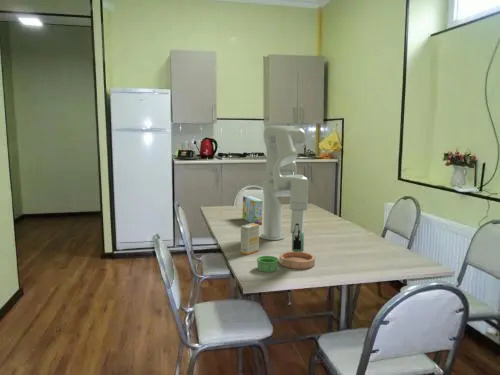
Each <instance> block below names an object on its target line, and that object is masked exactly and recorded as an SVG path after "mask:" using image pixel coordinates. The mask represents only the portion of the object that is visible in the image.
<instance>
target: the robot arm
mask: <svg viewBox="0 0 500 375" xmlns="http://www.w3.org/2000/svg"><path fill="white" fill-rule="evenodd" d="M263 140H264V144H265V149H266V157H265V158H266V160H265V162H266V163H265V169H266V172H265V173H266V174H267V175H268V176H269V177H272V178H268V179H265V180H264V181H263V183H262V193H263V233H261V234H260V238H261V239H263V240H267V241H279V240H283V239H284V238H285V234H283V233H282V226H283V224H282V222H283V221H282V220H283V219H282V218H283V205H282V202H281V201H280V199H279V198H281V197H283V198H284V197H289V209H290V210H291V217H290V218H291V219H290V220H291V221H290V233H291V234H292V233H293V232H294V240H293V249H296V250H301V240H300V239H301V233H302V232H304V229H305V219H306V218H305V217H306V216H305V215H306V211H308V210H309V209H308V208H309V207H308V206H309V205H308V204H309V178H307V177H306V176H304V175H302V174H297V173H298V172H297V169H298V167H297V162H296V160H297V159H298V155H299V154H298V151H297V147H303V146H304V145H305V144H306V141H307V134H306V132H305V130H304V129H303V128H301V127H299V126H296V125H269V126H266V127H265V128H264V130H263ZM278 197H279V198H278ZM298 232H300V233H298Z"/></svg>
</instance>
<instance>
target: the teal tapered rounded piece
mask: <svg viewBox="0 0 500 375" xmlns="http://www.w3.org/2000/svg"><path fill="white" fill-rule="evenodd" d="M298 233H300V232H298ZM293 240H294V232H293V233H291V251H294V252H305V251H304V249H305V248H304V246H305V231H303V232H302V233H301V239H300V240H301V250H296V249H293Z"/></svg>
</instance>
